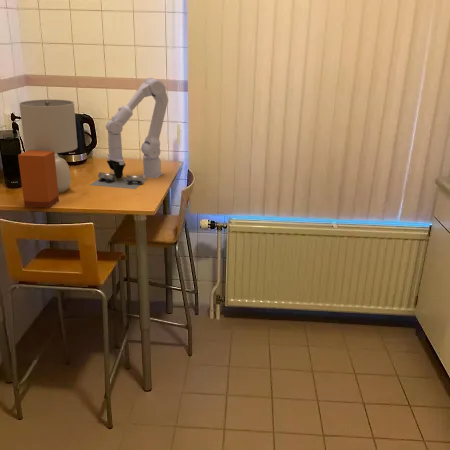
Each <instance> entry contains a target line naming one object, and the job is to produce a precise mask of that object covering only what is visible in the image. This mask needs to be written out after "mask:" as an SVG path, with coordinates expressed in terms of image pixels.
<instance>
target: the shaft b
mask: <svg viewBox="0 0 450 450" xmlns="http://www.w3.org/2000/svg"><path fill="white" fill-rule="evenodd" d="M125 177H126V179H127V182H128V185H132V183H133V182H138V183H137V185H140V186H142V185H143V183H142V182H143V179H144V177H143V176H142V175H139V174H138V175H134V174H133V175H126V176H125Z"/></svg>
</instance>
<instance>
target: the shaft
mask: <svg viewBox="0 0 450 450" xmlns="http://www.w3.org/2000/svg"><path fill="white" fill-rule="evenodd" d="M97 177H98V179H99V182H103V181H106V180H107V181H106V183H111V182H114V181H115V176H114V174H110V173H107V172H102V171H100V172H98V174H97Z"/></svg>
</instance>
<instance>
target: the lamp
mask: <svg viewBox="0 0 450 450" xmlns="http://www.w3.org/2000/svg"><path fill="white" fill-rule="evenodd" d="M19 111H20V112H19V113H20V119H21V128H22V135H23V136H22V137H23V138H22V139H23V145H24V150H25V152H26V151H28V150H38V151H54V154H55V165H56V175H57V185H58V194H60V193H63V192H65V191H67V190H68V189H70V186H71V183H72V178H71V170H70V167H69V164H68V163H67V161H66V160H65V159H64V158H62V157H60V156H59V154H62V153H67V152H72V151H75V150H77V149H78V138H77V136H78V135H77V124H76V113H75V111H76V110H75V102H74V101H71V100H67V99H65V100H64V99H34V100H33V99H32V100H25V101H20V102H19Z"/></svg>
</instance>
